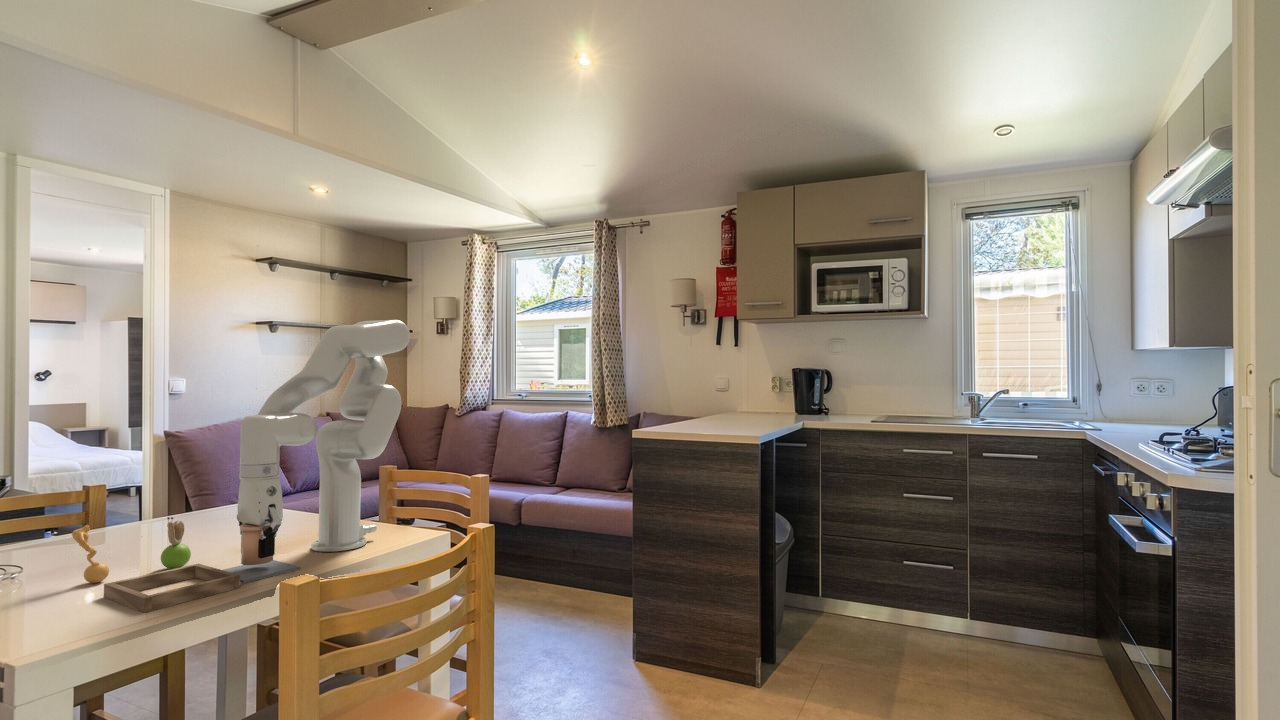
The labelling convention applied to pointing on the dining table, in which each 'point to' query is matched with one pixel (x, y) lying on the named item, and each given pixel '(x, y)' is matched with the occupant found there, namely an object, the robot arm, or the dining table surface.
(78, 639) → the dining table surface
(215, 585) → the frame
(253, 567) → the grey mat
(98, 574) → the figurine
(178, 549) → the snail figurine
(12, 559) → the dining table surface
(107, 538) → the dining table surface
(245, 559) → the terracotta pot
